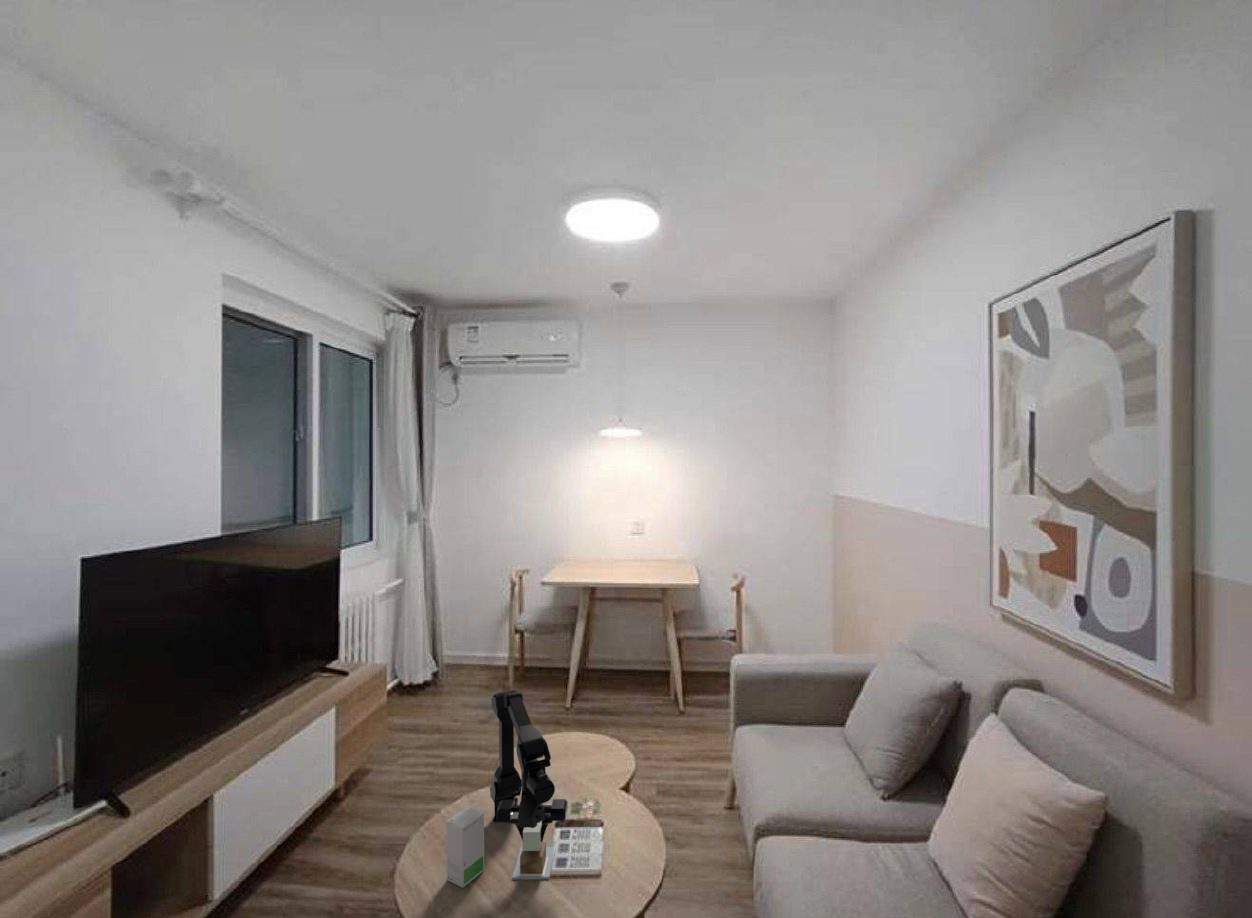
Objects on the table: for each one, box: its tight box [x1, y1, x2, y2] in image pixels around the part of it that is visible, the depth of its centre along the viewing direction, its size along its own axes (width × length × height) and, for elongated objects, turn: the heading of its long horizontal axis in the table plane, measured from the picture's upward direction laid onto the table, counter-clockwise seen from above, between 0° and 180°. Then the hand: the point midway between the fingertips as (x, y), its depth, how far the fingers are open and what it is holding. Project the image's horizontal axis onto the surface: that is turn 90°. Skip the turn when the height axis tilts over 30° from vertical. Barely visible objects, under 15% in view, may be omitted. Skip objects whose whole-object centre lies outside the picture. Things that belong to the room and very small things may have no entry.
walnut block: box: [520, 841, 547, 874], centre depth 155 cm, size 6×6×4 cm
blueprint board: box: [511, 846, 554, 881], centre depth 157 cm, size 10×12×1 cm
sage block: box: [522, 821, 543, 851], centre depth 155 cm, size 5×5×5 cm
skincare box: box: [445, 806, 485, 888], centre depth 153 cm, size 8×7×16 cm
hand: (532, 841), depth 155 cm, fingers closed on sage block, 4 cm apart
